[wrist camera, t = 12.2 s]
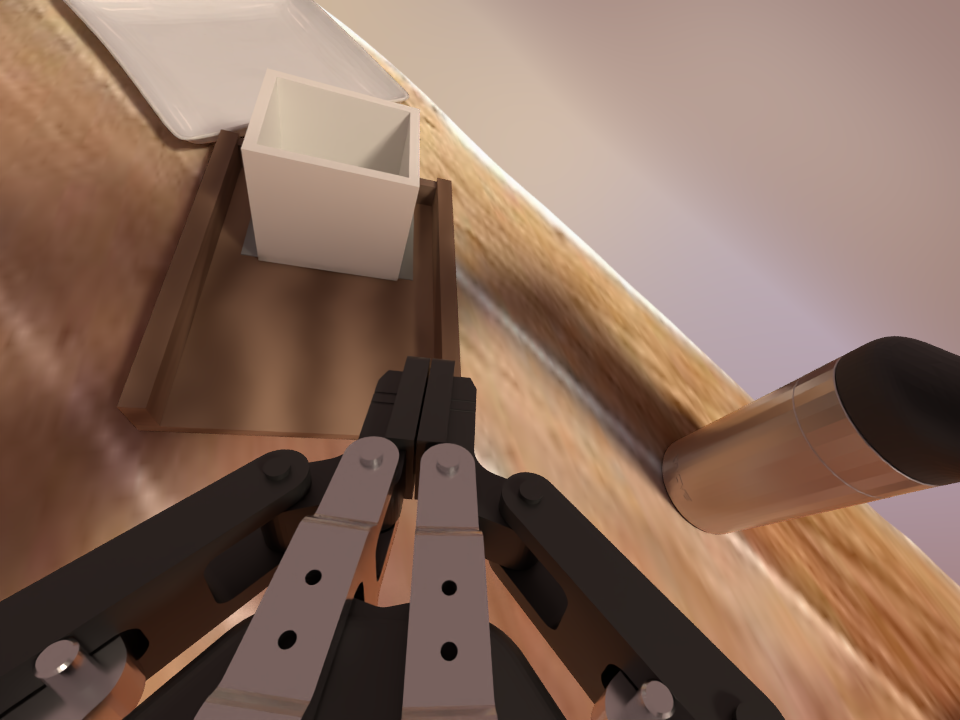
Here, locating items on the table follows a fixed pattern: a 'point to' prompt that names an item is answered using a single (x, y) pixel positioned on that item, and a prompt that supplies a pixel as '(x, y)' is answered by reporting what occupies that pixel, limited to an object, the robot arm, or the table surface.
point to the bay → (284, 323)
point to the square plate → (226, 56)
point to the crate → (331, 176)
